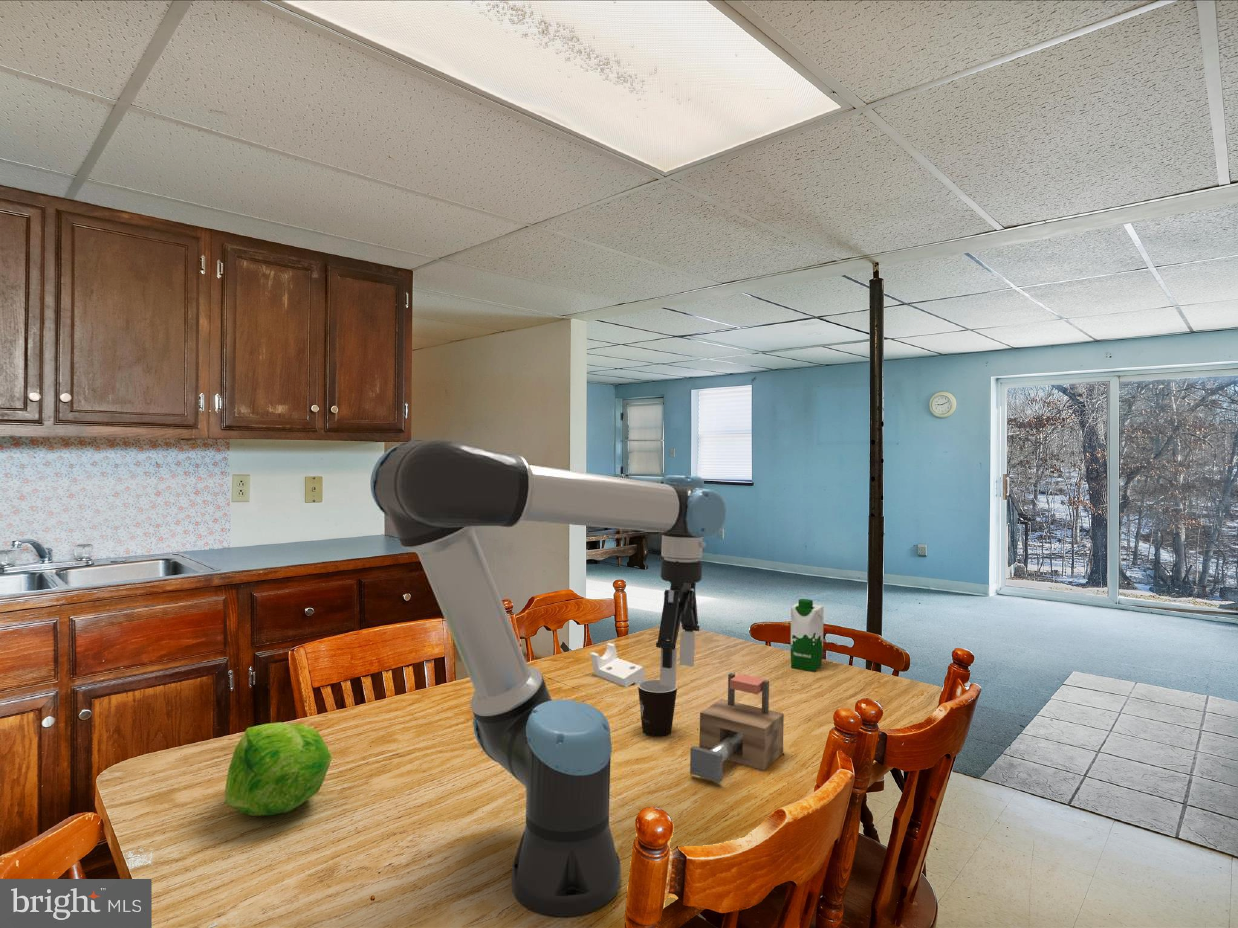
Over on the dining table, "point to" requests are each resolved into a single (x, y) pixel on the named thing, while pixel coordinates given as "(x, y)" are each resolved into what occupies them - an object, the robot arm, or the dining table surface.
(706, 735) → the block
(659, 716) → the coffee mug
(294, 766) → the lettuce
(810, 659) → the milk carton
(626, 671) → the bracket
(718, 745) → the pin
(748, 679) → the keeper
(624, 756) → the dining table surface
